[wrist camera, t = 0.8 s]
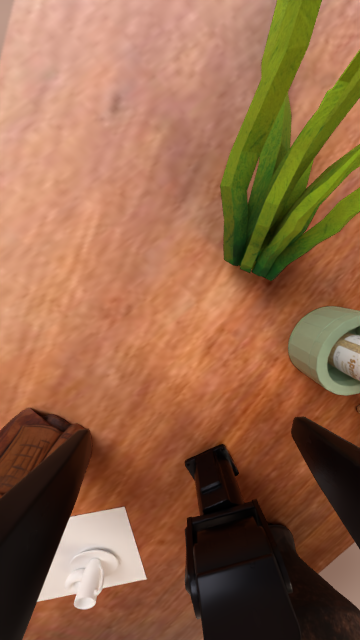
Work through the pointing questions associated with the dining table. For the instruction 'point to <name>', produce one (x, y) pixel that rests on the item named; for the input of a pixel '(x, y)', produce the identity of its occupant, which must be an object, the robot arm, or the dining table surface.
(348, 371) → the sprinkles bottle
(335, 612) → the jug
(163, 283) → the dining table surface
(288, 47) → the decorative plant
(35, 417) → the wooden figurine
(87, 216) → the dining table surface
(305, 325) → the jar
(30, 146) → the dining table surface
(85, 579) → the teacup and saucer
